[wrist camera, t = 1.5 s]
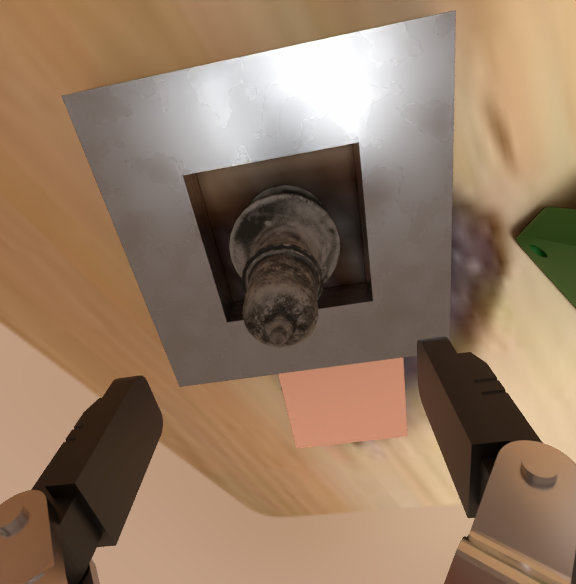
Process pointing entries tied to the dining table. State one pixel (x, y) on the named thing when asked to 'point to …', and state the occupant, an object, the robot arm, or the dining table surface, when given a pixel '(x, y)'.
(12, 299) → the dining table surface
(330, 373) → the tile
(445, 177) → the grey square frame
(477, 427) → the robot arm
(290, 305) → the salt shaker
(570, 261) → the clamp
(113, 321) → the dining table surface
